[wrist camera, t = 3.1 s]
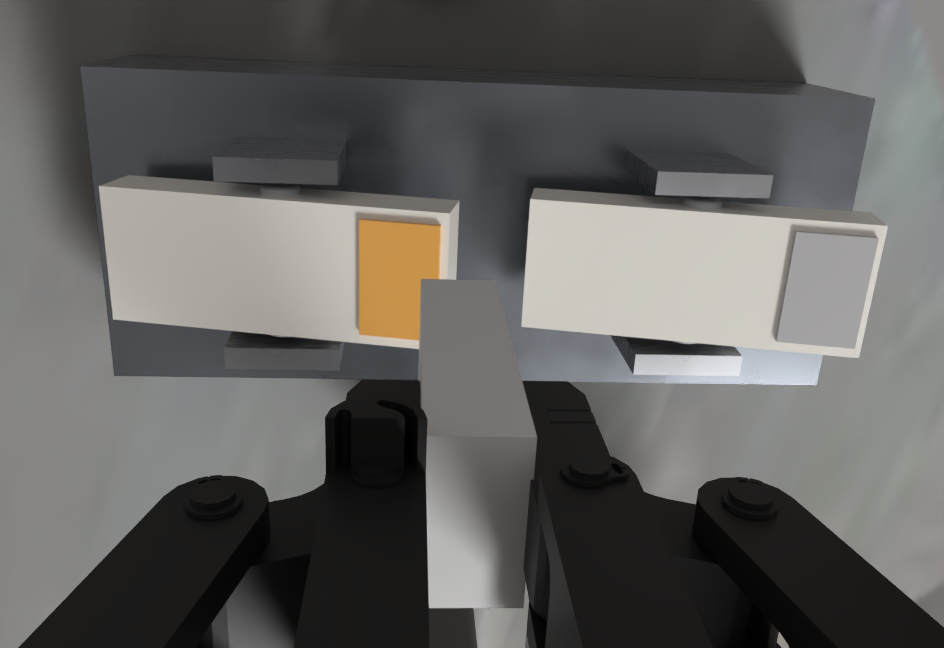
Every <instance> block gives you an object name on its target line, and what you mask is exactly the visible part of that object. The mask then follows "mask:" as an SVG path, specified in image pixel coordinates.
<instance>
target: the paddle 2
mask: <svg viewBox="0 0 944 648" xmlns="http://www.w3.org/2000/svg"><path fill="white" fill-rule="evenodd" d="M887 228H888V226H887V225H886V224H885V223H884V222H882V221H881V220H880V219H879V218H877V217H876V216H875V215H873V214H872V213H871V212H857V211H844V210H830V209H816V208H803V207H789V206H776V205H762V204H749V203H735V202H722V201H721V200H718V199H715V198H710V197H703V196H688V197H684V198H683V199H681V198H667V197H654V196H640V195H627V194H613V193H599V192H586V191H572V190H559V189H545V188H534V190H533V193H532V196H531V198H530V209H529V223H528V238H527V252H526V266H525V280H524V295H523V309H522V323H521V327H528V328H539V329H550V330H561V331H572V332H582V333H593V334H604V335H615V336H626V337H636V338H647V339H658V340H669V341H673V342H677V343H682V344H696V343H701V344H712V345H723V346H734V347H744V348H755V349H766V350H777V351H787V352H798V353H809V354H820V355H831V356H841V357H852V358H859V355H860V351H861V346H862V341H863V337H864V332H865V328H866V323H867V319H868V314H869V310H870V305H871V301H872V296H873V292H874V287H875V283H876V278H877V274H878V269H879V265H880V260H881V255H882V251H883V246H884V242H885V237H886V233H887Z"/></svg>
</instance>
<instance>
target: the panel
mask: <svg viewBox="0 0 944 648" xmlns="http://www.w3.org/2000/svg"><path fill="white" fill-rule="evenodd" d="M80 69H81V78H82V87H83V97H84V106H85V115H86V124H87V133H88V142H89V151H90V160H91V169H92V178H93V187H94V196H95V205H96V214H97V223H98V232H99V241H100V250H101V260H102V269H103V278H104V287H105V296H106V305H107V314H108V323H109V332H110V341H111V350H112V359H113V368H114V376H169V377H245V378H321V379H397V380H418V369H419V349H413V348H403V347H392V346H382V345H372V344H361V343H351V342H341V341H330V340H320V339H310V338H300V337H275V336H271V335H269V334H258V333H248V332H238V331H227V330H217V329H207V328H196V327H186V326H176V325H165V324H155V323H145V322H135V321H124V320H114V319H113V314H112V304H111V295H110V286H109V277H108V267H107V258H106V249H105V240H104V231H103V221H102V212H101V203H100V194H99V186H100V185H103V184H106V183H108V182H111V181H114V180H117V179H120V178H122V177H125V176H128V175H134V176H147V177H160V178H174V179H187V180H200V181H213V182H226V183H239V184H252V185H266V184H274V183H284V184H294V185H298V186H300V188H305V189H318V190H331V191H344V192H357V193H370V194H383V195H397V196H410V197H423V198H436V199H449V200H459V224H458V249H457V273H456V280H490V281H496V285H497V289H498V293H499V296H500V300H501V304H502V308H503V311H504V315H505V319H506V322H507V326H508V330H509V334H510V337H511V341H512V345H513V349H514V352H515V356H516V360H517V364H518V367H519V371H520V375H521V379H522V381H568V382H625V383H702V384H778V385H817V380H818V375H819V370H820V366H821V361H822V356H823V355H820V354H809V353H798V352H787V351H777V350H766V349H755V348H744V347H734V346H723V345H712V344H701V343H696V344H682V343H677V342H673V341H669V340H658V339H647V338H636V337H626V336H615V335H604V334H593V333H582V332H572V331H561V330H550V329H539V328H528V327H521V323H522V309H523V295H524V280H525V266H526V252H527V238H528V223H529V209H530V198H531V196H532V193H533V190H534V188H545V189H559V190H572V191H586V192H599V193H613V194H627V195H640V196H654V197H667V198H681V199H683V198H684V197H688V196H703V197H710V198H715V199H718V200H721V201H722V202H735V203H749V204H762V205H776V206H789V207H803V208H816V209H830V210H844V211H852V209H853V204H854V199H855V194H856V190H857V185H858V180H859V175H860V170H861V165H862V160H863V155H864V151H865V146H866V141H867V136H868V131H869V126H870V121H871V116H872V111H873V107H874V102H875V98H870V97H866V96H861V95H857V94H852V93H848V92H844V91H839V90H835V89H830V88H826V87H821V86H817V85H812V84H808V83H786V82H762V81H738V80H714V79H690V78H666V77H642V76H618V75H594V74H570V73H546V72H522V71H499V70H475V69H451V68H427V67H403V66H379V65H355V64H331V63H307V62H283V61H259V60H235V59H212V58H188V57H164V56H140V55H129V56H125V57H120V58H116V59H111V60H107V61H102V62H97V63H93V64H88V65H84V66H80Z"/></svg>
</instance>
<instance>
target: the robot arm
mask: <svg viewBox="0 0 944 648" xmlns="http://www.w3.org/2000/svg"><path fill="white" fill-rule="evenodd" d="M325 437H326V476H325V482H324V484H322V485H321V486H319V487H318V488H316V489H315V490H313V491H310V492H308V493H305V494H303V495H301V496H297V497H293V498H289V499H284V500H278V501H273V502H269V501H268V497H267V494H266V492H265V489H264V488H263V487H261V486H260V485H258V484H257V483H256V482H254V481H252V480H248V479H245V478H241V477H237V476H222V475H215V476H210V477H202V478H198V479H195V480H193V481H190V482H187V483H185V484H182V485H179V486H177V487H176V488H175V489H173V490H172V491H170V492H169V493H168V494H166V495H165V496H164V497H163V498H162V499H161V500H160V501H159V502H158V503H157V504H156V505H155V506H154V507H153V508H152V509H151V510H150V511H149V512H148V513H147V514H146V515H145V516H144V517H143V519H142V520H141V521H140V522H139V523H138V524H137V525H136V526H135V527H134V528H133V529H132V530H131V531H130V532H129V533H128V534H127V535H126V536H125V537H124V538H123V539H122V540H121V541H120V542H119V544H118V545H117V546H116V547H115V548H114V549H113V550H112V551H111V552H110V553H109V554H108V555H107V556H106V557H105V558H104V559H103V560H102V561H101V562H100V563H99V564H98V565H97V566H96V567H95V568H94V570H93V571H92V572H91V573H90V574H89V575H88V576H87V577H86V578H85V579H84V580H83V581H82V582H81V583H80V584H79V585H78V586H77V587H76V588H75V589H74V590H73V591H72V592H71V593H70V595H69V596H68V597H67V598H66V599H65V600H64V601H63V602H62V603H61V604H60V605H59V606H58V607H57V608H56V609H55V610H54V611H53V612H52V613H51V614H50V615H49V616H48V617H47V618H46V619H45V621H44V622H43V623H42V624H41V625H40V626H39V627H38V628H37V629H36V630H35V631H34V632H33V633H32V634H31V635H30V636H29V637H28V638H27V639H26V640H25V641H24V642H23V643H22V644H21V646H20V647H19V648H430V642H429V608H523V606H524V593H525V581H526V585H527V590H528V596H529V610H528V622H527V634H526V645H525V648H781V647H780V646H779V644H778V643H777V638H778V633H779V632H780V633H781V635H782V636H783V638H784V639H785V640H786V642H787V643H788V645H789V648H944V627H943V626H941V625H940V624H939V623H938V622H937V621H936V620H934V619H933V618H932V617H931V616H930V615H929V614H927V613H926V612H925V611H924V610H923V609H922V608H920V607H919V606H918V605H917V604H916V603H915V602H914V601H912V600H911V599H910V598H909V597H908V596H907V595H905V594H904V593H903V592H902V591H901V590H900V589H898V588H897V587H896V586H895V585H894V584H893V583H891V582H890V581H889V580H888V579H887V578H886V577H884V576H883V575H882V574H881V573H880V572H879V571H877V570H876V569H875V568H874V567H873V566H872V565H870V564H869V563H868V562H867V561H866V560H865V559H863V558H862V557H861V556H860V555H859V554H858V553H856V552H855V551H854V550H853V549H852V548H851V547H849V546H848V545H847V544H846V543H845V542H844V541H842V540H841V539H840V538H839V537H838V536H837V535H835V534H834V533H833V532H832V531H831V530H830V529H828V528H827V527H826V526H825V525H824V524H823V523H821V522H820V521H819V520H818V519H817V518H816V517H814V516H813V515H812V514H811V513H810V512H809V511H807V510H806V509H805V508H804V507H803V506H802V505H800V504H799V503H798V502H797V501H796V500H795V499H793V498H792V497H791V496H789V495H787V494H786V493H784V492H783V491H781V490H780V489H778V488H776V487H773V486H770V485H768V484H765V483H763V482H762V481H759V480H755V479H751V478H750V479H748V478H743V477H736V478H719V479H715V480H712V481H708V482H706V483H705V484H704V485H703V486H702V487H701V488H699V489H698V496H697V502H696V504H690V503H685V502H680V501H675V500H670V499H665V498H661V497H657V496H654V495H651V494H648V493H646V492H644V491H643V489H642V487H641V485H640V482H639V480H638V478H637V476H636V474H635V473H634V472H633V471H632V469H631V468H630V467H629V466H628V465H626V464H625V463H623V462H621V461H620V460H618V459H616V458H614V457H611V456H610V455H609V452H608V450H607V447H606V445H605V443H604V440H603V438H602V435H601V433H600V430H599V428H598V426H597V425H596V421H595V418H594V416H593V414H592V412H591V409H590V406H589V404H588V401H587V399H586V397H585V394H583V393H582V392H581V391H579V390H578V389H577V388H575V387H574V386H573V385H571V384H570V383H569V382H568V381H522V379H521V375H520V371H519V367H518V364H517V360H516V356H515V352H514V349H513V345H512V341H511V337H510V334H509V330H508V326H507V322H506V319H505V315H504V311H503V308H502V304H501V300H500V296H499V293H498V289H497V285H496V281H490V280H450V279H421V291H420V330H419V369H418V381H387V380H361V381H360V382H359V383H358V384H357V385H356V386H355V387H354V388H352V389H351V390H350V391H349V392H348V393H347V397H346V401H344V402H342V403H340V404H338V405H336V406H335V407H333V408H331V409H330V411H329V412H328V414H327V415H326V417H325Z"/></svg>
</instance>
